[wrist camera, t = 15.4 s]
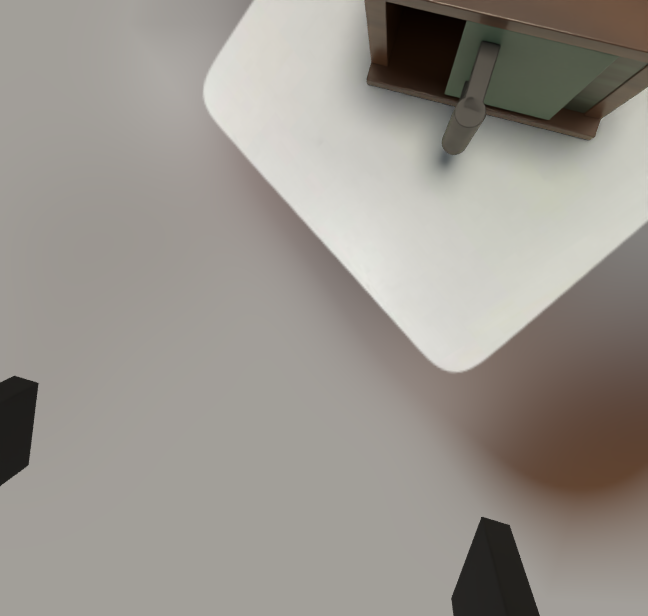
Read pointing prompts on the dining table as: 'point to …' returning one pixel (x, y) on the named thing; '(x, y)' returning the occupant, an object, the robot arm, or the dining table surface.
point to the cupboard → (519, 16)
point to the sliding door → (513, 77)
